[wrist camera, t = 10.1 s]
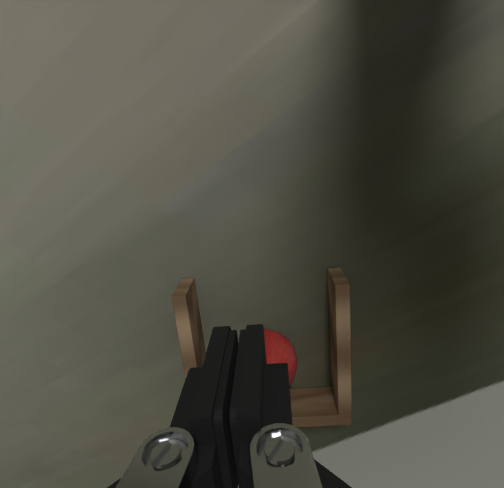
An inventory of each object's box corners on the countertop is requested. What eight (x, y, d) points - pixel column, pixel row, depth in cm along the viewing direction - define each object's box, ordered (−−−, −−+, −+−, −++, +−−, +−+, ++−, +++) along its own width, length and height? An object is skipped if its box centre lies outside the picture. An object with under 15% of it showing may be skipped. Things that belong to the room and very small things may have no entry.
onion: (255, 372, 38) (253, 433, 30) (225, 331, 36) (214, 383, 29) (304, 347, 37) (314, 404, 29) (274, 304, 35) (276, 351, 28)
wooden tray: (182, 278, 35) (171, 296, 31) (340, 267, 34) (349, 284, 30) (201, 402, 39) (195, 431, 35) (343, 395, 38) (351, 424, 34)
